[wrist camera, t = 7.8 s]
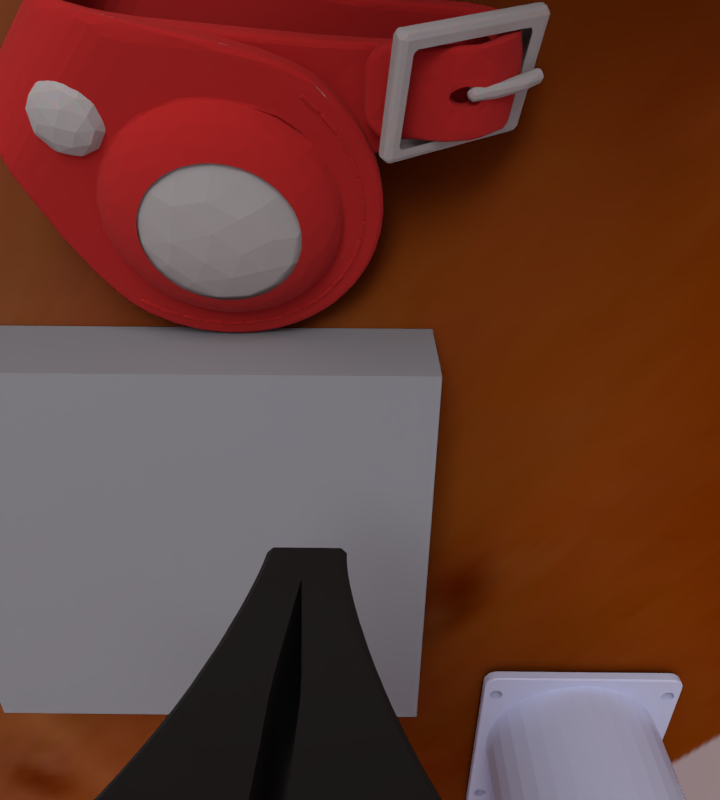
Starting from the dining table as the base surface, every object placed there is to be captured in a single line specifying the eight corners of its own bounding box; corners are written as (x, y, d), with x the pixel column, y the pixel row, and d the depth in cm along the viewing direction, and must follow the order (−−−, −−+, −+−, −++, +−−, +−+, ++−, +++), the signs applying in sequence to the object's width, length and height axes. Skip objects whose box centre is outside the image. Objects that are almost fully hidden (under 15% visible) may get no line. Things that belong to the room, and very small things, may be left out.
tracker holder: (270, 405, 20) (-94, 228, 15) (278, 307, 23) (-26, 131, 18) (618, 99, 13) (164, -408, 8) (567, 14, 16) (208, -400, 11)
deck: (411, 649, 27) (416, 716, 24) (39, 645, 27) (4, 712, 24) (432, 329, 20) (442, 376, 17) (-72, 325, 20) (-137, 371, 17)
